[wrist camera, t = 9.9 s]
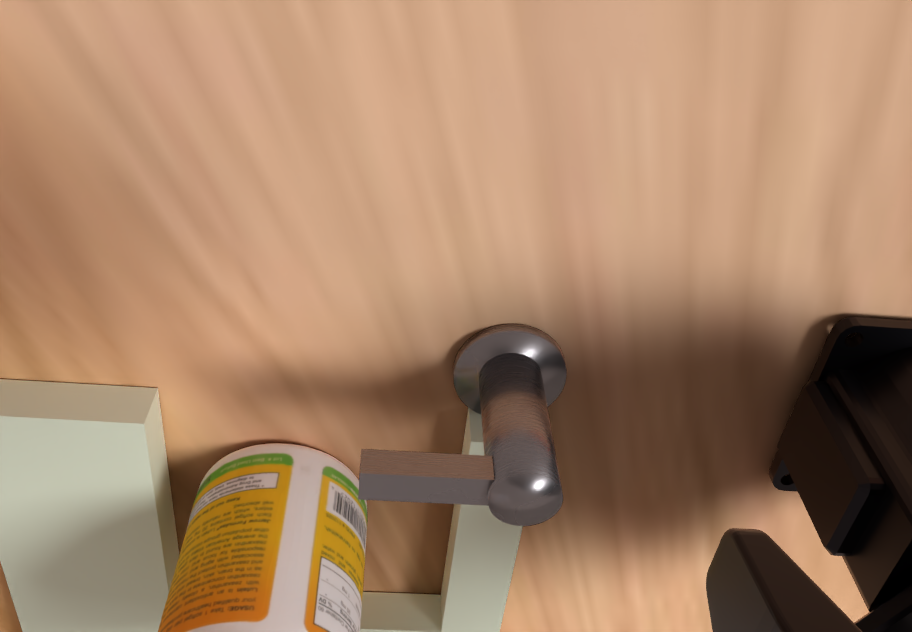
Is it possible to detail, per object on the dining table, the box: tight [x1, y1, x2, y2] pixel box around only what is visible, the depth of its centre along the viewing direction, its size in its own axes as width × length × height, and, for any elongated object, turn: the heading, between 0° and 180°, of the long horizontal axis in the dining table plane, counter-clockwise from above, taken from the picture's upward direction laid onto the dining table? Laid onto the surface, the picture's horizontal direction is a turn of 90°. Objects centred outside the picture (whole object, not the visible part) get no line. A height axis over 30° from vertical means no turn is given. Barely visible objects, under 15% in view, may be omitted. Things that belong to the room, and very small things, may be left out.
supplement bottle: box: [158, 443, 367, 632], centre depth 24 cm, size 5×5×10 cm
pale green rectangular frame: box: [0, 379, 523, 632], centre depth 30 cm, size 16×18×2 cm
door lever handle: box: [358, 324, 566, 526], centre depth 23 cm, size 6×3×5 cm, turn 84°
